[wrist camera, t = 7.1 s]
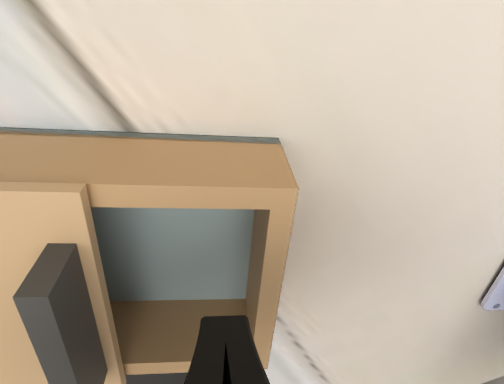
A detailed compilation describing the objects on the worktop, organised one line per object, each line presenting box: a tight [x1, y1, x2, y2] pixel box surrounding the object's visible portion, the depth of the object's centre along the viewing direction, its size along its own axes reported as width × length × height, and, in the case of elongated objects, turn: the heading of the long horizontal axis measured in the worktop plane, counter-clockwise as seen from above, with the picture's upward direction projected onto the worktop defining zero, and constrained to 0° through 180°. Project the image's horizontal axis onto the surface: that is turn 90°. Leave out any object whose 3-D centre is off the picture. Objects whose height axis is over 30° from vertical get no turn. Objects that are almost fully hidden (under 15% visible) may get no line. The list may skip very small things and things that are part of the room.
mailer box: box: [0, 127, 299, 375], centre depth 17 cm, size 20×12×5 cm, turn 86°
